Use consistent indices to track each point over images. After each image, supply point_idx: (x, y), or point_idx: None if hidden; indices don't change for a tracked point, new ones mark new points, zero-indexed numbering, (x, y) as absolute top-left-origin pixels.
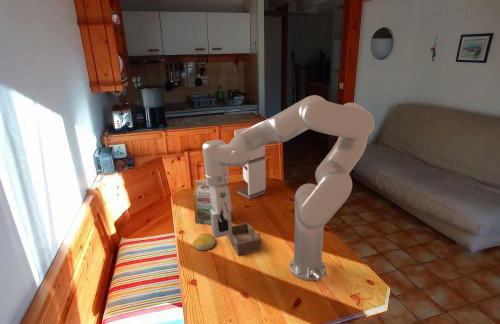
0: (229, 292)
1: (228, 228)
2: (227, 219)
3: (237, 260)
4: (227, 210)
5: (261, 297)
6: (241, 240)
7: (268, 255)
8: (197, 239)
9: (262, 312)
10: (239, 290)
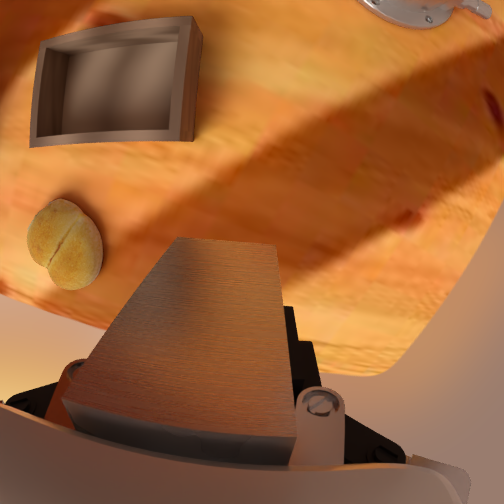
0: (372, 261)
1: (292, 312)
2: (344, 410)
3: (222, 157)
4: (259, 461)
5: (443, 181)
6: (108, 94)
7: (258, 28)
8: (60, 281)
9: (478, 211)
10: (384, 228)
